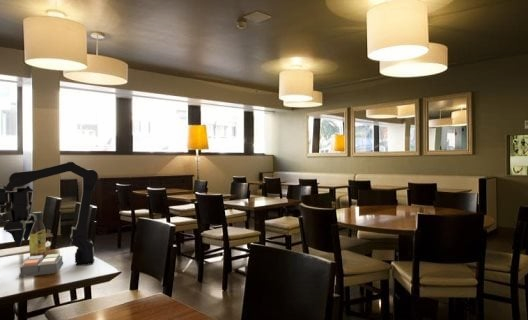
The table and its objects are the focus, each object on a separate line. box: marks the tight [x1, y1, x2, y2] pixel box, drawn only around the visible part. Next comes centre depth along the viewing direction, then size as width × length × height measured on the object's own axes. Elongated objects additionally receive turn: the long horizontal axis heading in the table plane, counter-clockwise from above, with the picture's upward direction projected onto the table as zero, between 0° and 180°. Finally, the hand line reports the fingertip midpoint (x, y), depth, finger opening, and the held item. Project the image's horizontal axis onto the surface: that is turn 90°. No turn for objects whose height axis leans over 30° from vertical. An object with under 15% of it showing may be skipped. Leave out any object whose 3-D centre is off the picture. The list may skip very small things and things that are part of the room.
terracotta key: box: [22, 259, 40, 267], centre depth 143 cm, size 4×4×2 cm
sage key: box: [45, 253, 61, 259], centre depth 150 cm, size 4×4×2 cm
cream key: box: [41, 258, 57, 265], centre depth 145 cm, size 4×4×2 cm
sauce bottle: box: [28, 211, 47, 258], centre depth 167 cm, size 7×6×20 cm
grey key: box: [27, 255, 44, 261], centre depth 148 cm, size 4×4×2 cm
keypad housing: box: [19, 255, 64, 278], centre depth 147 cm, size 12×12×4 cm
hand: (22, 243), depth 144 cm, fingers open, 9 cm apart
